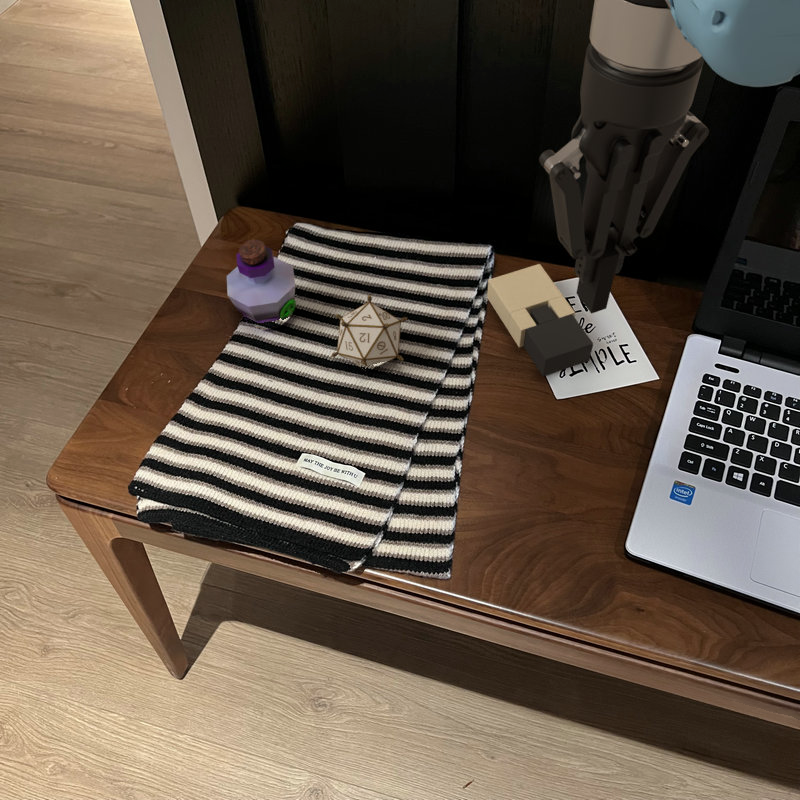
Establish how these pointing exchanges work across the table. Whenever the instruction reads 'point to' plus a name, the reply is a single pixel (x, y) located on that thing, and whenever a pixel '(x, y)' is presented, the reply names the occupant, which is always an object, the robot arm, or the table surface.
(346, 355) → the game die
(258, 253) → the potion bottle
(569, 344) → the black pad
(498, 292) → the base pad
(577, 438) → the table surface
